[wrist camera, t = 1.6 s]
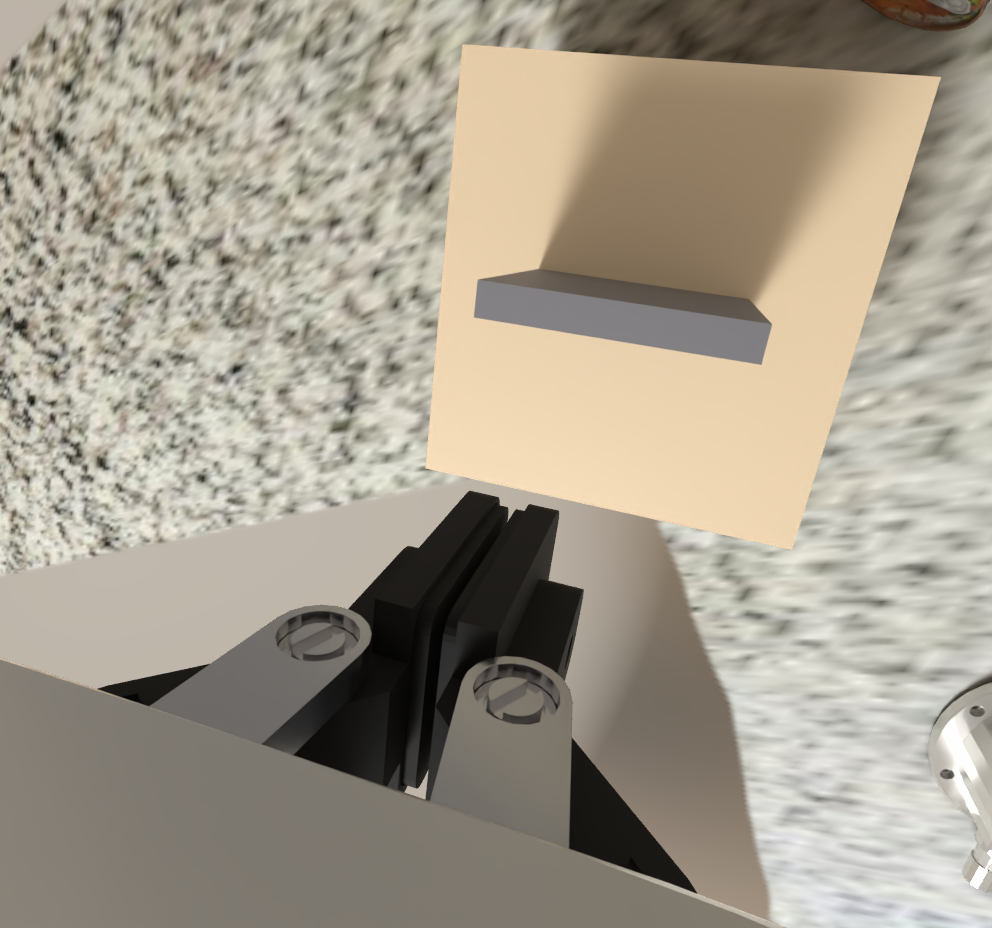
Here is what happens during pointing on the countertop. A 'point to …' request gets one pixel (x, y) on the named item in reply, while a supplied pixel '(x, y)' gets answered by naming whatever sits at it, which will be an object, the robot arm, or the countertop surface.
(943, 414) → the countertop surface
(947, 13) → the tin
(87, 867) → the robot arm
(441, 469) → the lid
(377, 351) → the countertop surface
